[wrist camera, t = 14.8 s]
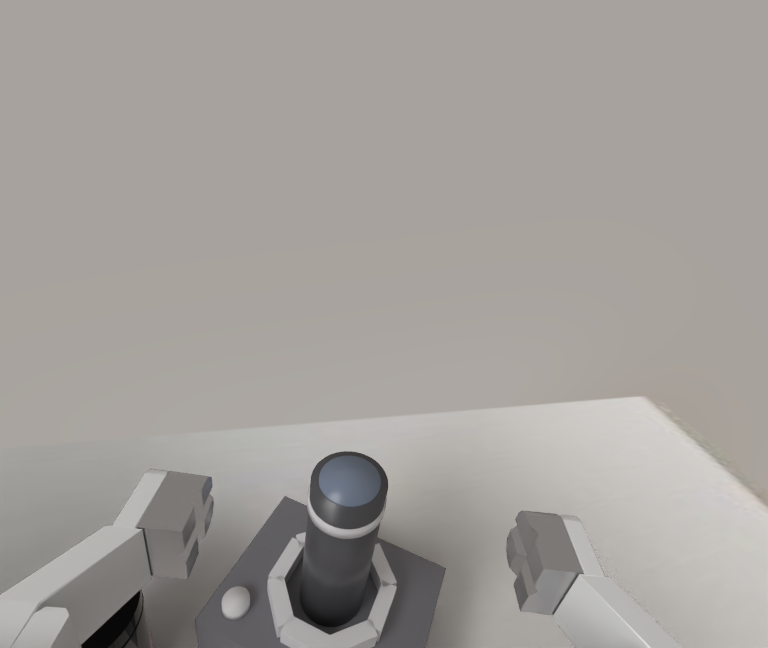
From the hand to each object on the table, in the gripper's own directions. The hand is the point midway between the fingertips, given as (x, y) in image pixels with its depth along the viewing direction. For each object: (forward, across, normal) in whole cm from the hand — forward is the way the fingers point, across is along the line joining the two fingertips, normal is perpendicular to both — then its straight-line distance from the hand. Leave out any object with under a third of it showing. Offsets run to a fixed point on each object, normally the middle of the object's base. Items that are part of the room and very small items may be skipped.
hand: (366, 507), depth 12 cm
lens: (+12, 0, -26) cm, 29 cm away
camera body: (+12, 0, -32) cm, 34 cm away
